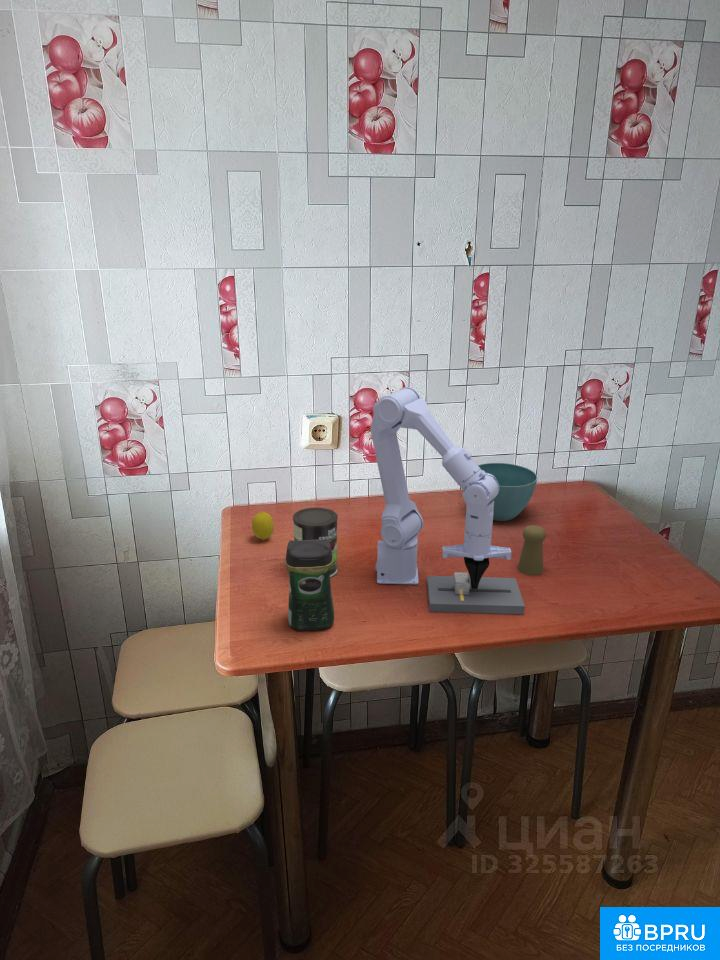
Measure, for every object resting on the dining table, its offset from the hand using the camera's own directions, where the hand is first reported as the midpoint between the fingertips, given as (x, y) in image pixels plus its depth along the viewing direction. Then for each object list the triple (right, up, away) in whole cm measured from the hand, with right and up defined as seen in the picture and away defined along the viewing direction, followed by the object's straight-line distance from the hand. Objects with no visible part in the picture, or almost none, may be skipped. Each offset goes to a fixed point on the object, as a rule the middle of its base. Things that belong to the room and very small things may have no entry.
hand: (474, 586), depth 158 cm
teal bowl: (+14, +13, +43) cm, 47 cm away
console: (0, -3, +1) cm, 3 cm away
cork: (+16, +2, +14) cm, 21 cm away
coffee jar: (-35, -6, -8) cm, 37 cm away
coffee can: (-35, +2, +13) cm, 38 cm away
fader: (-3, -1, 0) cm, 3 cm away
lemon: (-50, +8, +27) cm, 57 cm away
